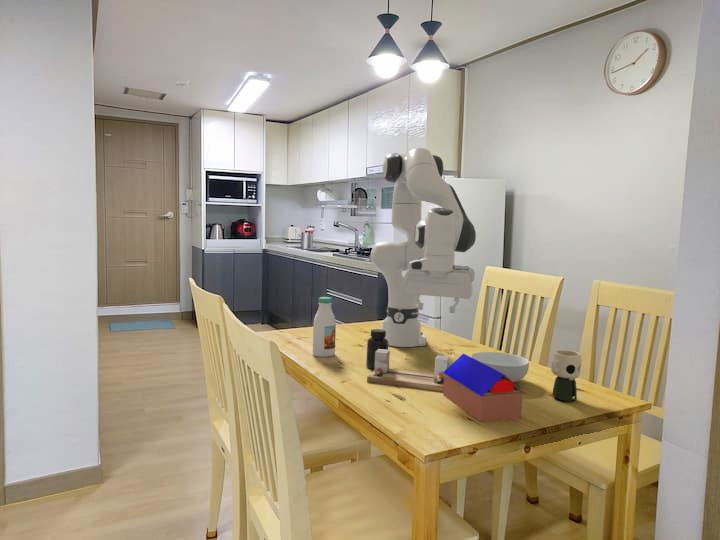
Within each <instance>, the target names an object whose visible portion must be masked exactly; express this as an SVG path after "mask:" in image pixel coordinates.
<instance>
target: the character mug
mask: <svg viewBox="0 0 720 540" xmlns="http://www.w3.org/2000/svg"><path fill="white" fill-rule="evenodd" d="M552 356H553V359H552V361H551V369H550V371H551V372H552V374H553V375H554V376H556V377H555V380H554V384H553V388H552V392H551V393H552V394H551V395H552V396H553V397H554V398H557V399H558V400H560V401H565V402H568V401H569V402H572V401H573V398H574V401H576V400H577V399H578V396H577V395H578V394H577V381H576V379H578V378H579V377H580V376H581V372H582V371H581V368H582V353H580V352H578V351H574V350H570V349H568V350H567V349H555V350H553V355H552Z"/></svg>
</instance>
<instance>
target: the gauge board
mask: <svg viewBox="0 0 720 540" xmlns="http://www.w3.org/2000/svg"><path fill="white" fill-rule="evenodd" d="M390 351H391V350H390V349H388V350H384V349H378V350H377V351H376V352H375V369H373V371H371V373H369V375H368V376H367V377H366V378H367V379H366V382H367V383H373V382H375V383H374V384H381V383H382V384H381V385H388V384H390V385H389V386H396V385H398V387H405V388H412V387H413V388H414V389H421V390H428V391H437V392H442V393H444V380H442V382H437V379H434V373H430V372H421V371H413V370H407V369H406V370H405V369H397V368H396V369H395V368H390V355H391V352H390ZM413 388H412V389H413Z"/></svg>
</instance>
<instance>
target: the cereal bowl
mask: <svg viewBox="0 0 720 540" xmlns="http://www.w3.org/2000/svg"><path fill="white" fill-rule="evenodd" d="M471 358H473V359H475V360H477V361H479V362H481V363H483V364H485V365H487V366H489V367H491V368H493V369H495V370H497V371H499V372H501V373H503V374H505V375H506V376H507V377H508V378H509V379H510V380H511V381H512V382H513V383H514V382H518V381H521V380H522V379H524V378H525V376H527V374H528V372H529V369H530V368H529V367H530V361H529V359H527V358H525V357H523V356H521V355H517V354H512V353H508V352H500V351H498V352H497V351H484V352H475V353H473V354H472V355H471Z"/></svg>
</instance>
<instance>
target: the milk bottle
mask: <svg viewBox="0 0 720 540" xmlns="http://www.w3.org/2000/svg"><path fill="white" fill-rule="evenodd" d="M317 304H318V309H317V311H316V314H315V315H314V319H313V328H312V329H313V330H312V354H313V355H314V356H315V357H318V358H320V357H321V358H330V357H333V356H335V354H336V335H337V334H336V329H337V328H336V327H337V325H336V323H337V322H336V317H335V314H334V312H333V310H332V309H333V308H332V304H333V298H332V297H330V296H320V297H318V303H317Z"/></svg>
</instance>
